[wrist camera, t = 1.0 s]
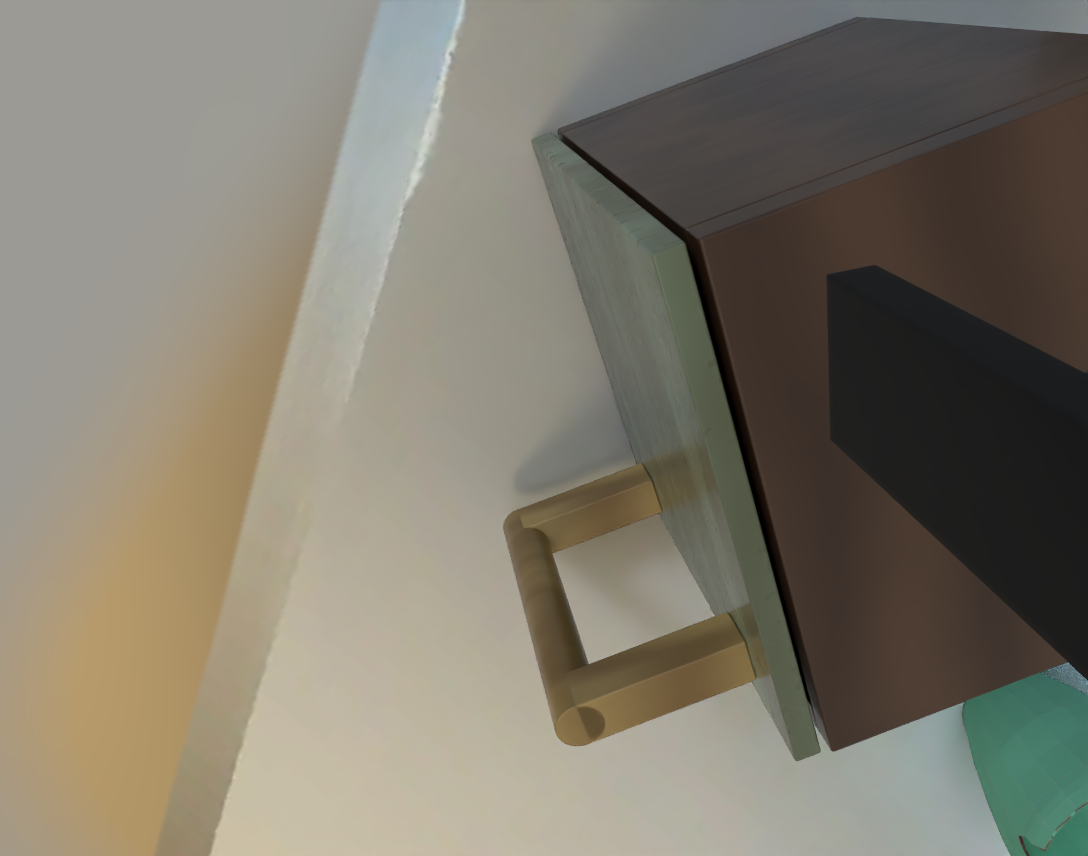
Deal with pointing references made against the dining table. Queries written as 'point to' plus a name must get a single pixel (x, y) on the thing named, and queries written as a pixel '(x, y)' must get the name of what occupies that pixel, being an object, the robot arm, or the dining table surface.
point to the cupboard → (853, 242)
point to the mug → (1033, 764)
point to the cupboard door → (654, 487)
